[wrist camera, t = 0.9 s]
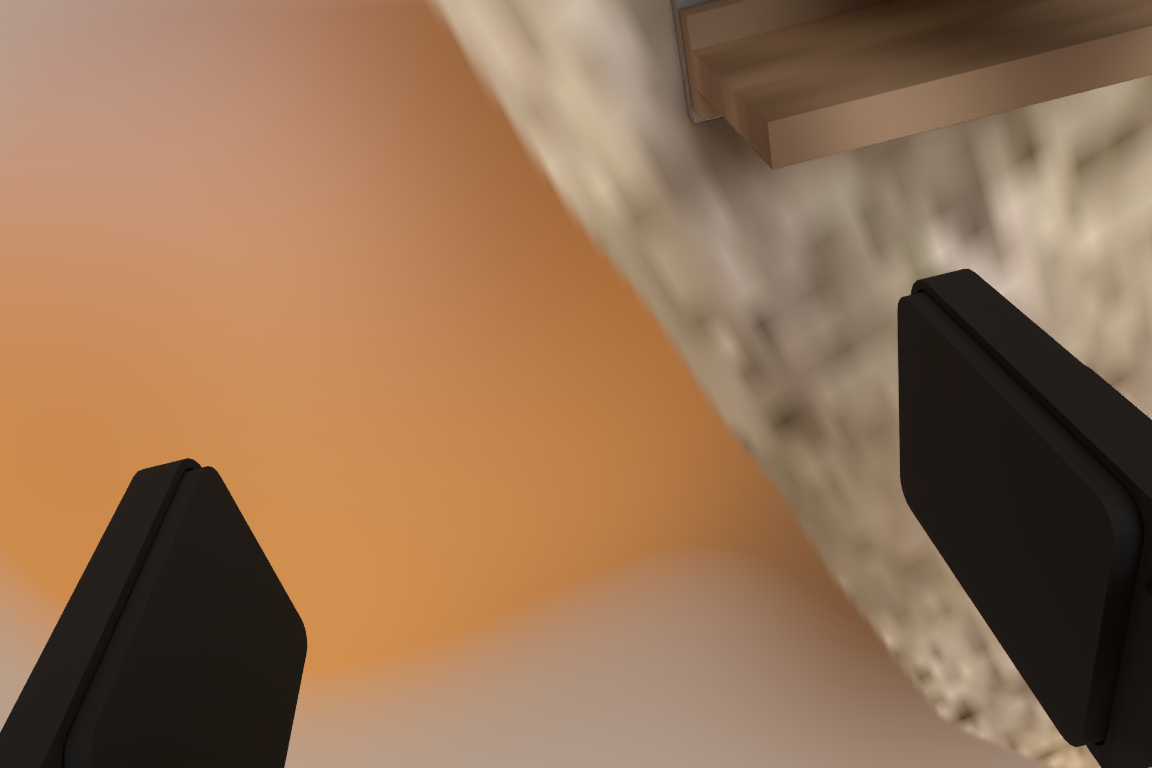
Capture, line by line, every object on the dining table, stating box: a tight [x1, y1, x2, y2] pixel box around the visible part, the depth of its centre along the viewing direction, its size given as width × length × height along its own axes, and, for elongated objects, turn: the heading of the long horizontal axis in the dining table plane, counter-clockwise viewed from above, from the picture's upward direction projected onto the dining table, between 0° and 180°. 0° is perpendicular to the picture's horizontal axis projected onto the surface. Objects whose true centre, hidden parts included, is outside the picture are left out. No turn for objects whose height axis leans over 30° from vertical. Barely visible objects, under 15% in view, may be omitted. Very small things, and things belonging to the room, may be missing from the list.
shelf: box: [679, 0, 1152, 169], centre depth 21 cm, size 12×3×8 cm, turn 102°
